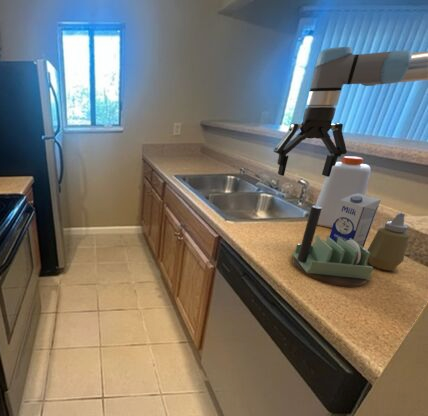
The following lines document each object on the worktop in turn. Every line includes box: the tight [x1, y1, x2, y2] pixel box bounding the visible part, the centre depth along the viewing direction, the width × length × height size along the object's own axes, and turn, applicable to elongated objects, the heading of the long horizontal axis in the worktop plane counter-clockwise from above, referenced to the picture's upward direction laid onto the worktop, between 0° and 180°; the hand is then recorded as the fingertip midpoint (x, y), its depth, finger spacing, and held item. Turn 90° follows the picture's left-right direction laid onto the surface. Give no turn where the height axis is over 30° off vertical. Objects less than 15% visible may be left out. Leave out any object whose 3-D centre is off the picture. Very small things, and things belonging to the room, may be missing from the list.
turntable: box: [292, 256, 368, 288], centre depth 85 cm, size 18×18×1 cm
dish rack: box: [292, 205, 374, 280], centre depth 81 cm, size 17×11×19 cm, turn 76°
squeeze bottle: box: [366, 211, 410, 271], centre depth 83 cm, size 8×8×18 cm
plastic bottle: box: [314, 155, 372, 229], centre depth 111 cm, size 15×15×28 cm
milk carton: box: [328, 193, 382, 248], centre depth 92 cm, size 7×7×20 cm
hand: (302, 175), depth 90 cm, fingers open, 13 cm apart
